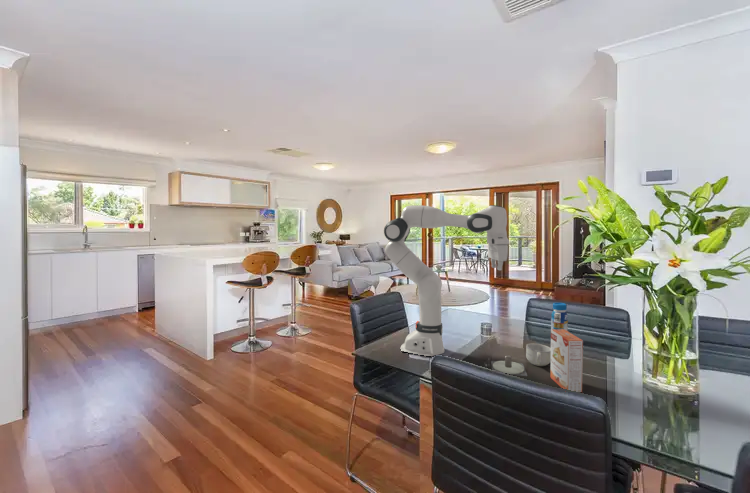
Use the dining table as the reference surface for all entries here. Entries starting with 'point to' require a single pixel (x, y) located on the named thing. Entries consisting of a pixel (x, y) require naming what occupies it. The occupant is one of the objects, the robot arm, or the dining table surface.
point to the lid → (508, 366)
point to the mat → (513, 374)
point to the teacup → (538, 354)
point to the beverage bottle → (559, 316)
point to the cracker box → (566, 360)
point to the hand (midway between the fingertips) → (496, 269)
